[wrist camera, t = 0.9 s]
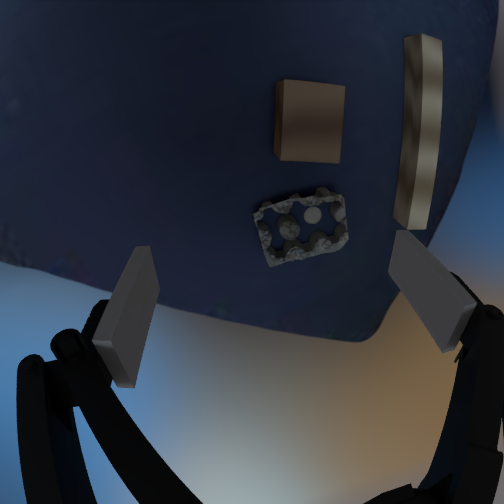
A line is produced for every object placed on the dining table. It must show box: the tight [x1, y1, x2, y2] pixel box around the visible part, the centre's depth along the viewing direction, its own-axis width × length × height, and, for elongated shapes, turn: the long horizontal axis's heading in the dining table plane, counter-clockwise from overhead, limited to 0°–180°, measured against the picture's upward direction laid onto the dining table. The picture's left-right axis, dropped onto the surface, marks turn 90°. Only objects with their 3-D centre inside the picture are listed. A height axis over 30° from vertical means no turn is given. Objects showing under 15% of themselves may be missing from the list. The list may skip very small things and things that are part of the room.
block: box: [274, 79, 345, 164], centre depth 29 cm, size 8×6×5 cm
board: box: [393, 34, 443, 230], centre depth 30 cm, size 24×3×4 cm, turn 1°
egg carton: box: [253, 187, 348, 267], centre depth 35 cm, size 11×8×4 cm
